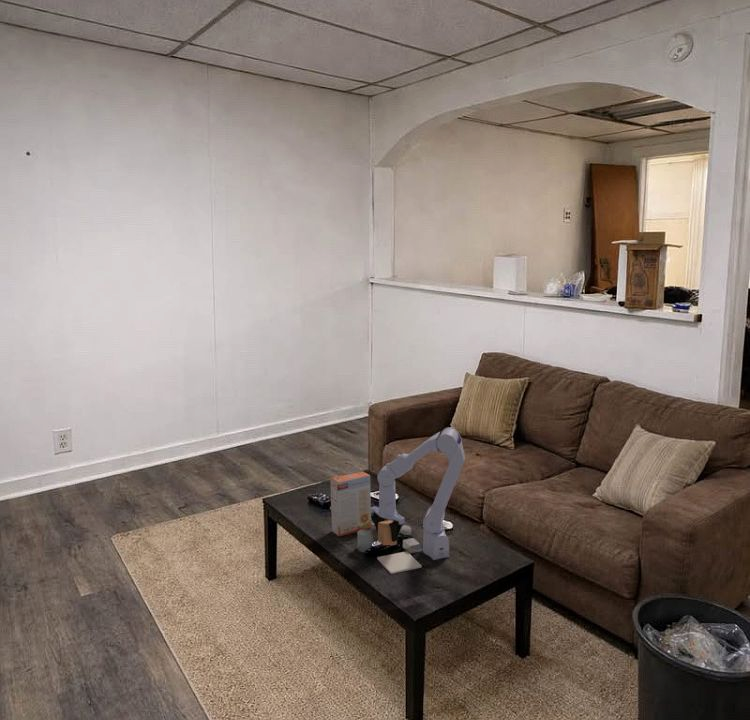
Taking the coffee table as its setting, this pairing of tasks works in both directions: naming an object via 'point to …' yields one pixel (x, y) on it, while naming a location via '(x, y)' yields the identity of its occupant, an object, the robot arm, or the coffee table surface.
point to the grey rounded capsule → (364, 539)
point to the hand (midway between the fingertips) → (387, 537)
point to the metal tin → (411, 545)
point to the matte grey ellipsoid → (405, 530)
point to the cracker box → (350, 503)
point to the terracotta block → (385, 533)
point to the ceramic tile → (399, 562)
